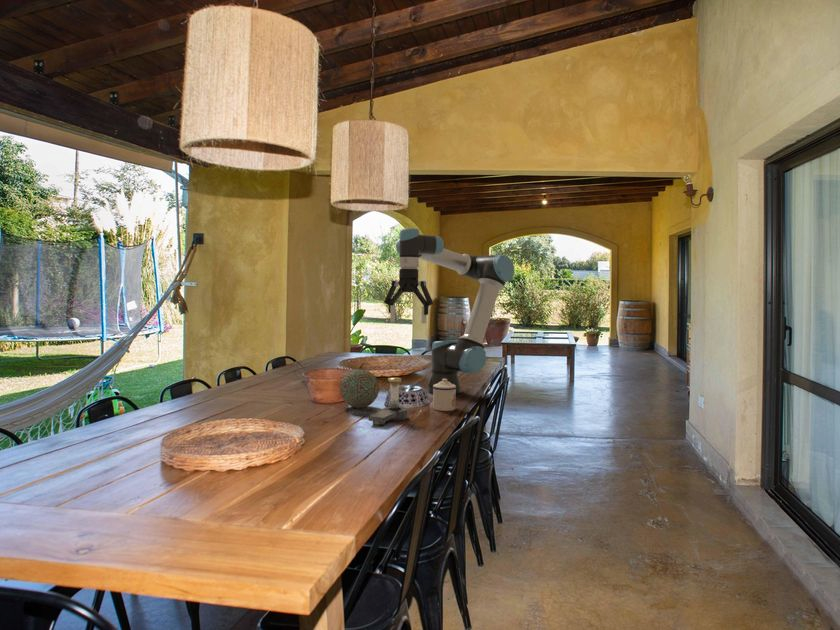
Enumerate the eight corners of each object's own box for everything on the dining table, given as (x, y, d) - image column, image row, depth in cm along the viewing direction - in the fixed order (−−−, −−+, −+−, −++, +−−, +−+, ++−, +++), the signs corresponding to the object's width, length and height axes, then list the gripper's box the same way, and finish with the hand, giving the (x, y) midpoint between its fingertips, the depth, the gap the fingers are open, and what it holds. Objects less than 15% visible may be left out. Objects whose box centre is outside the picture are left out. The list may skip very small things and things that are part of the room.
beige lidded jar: (457, 411, 225) (458, 381, 224) (433, 411, 224) (434, 380, 224) (453, 405, 237) (453, 376, 236) (430, 405, 236) (431, 375, 236)
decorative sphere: (333, 410, 224) (333, 370, 223) (348, 402, 238) (349, 365, 238) (370, 413, 220) (371, 372, 219) (384, 405, 234) (384, 367, 234)
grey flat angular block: (362, 410, 223) (362, 402, 223) (410, 416, 215) (410, 408, 215) (335, 420, 207) (335, 411, 207) (386, 427, 198) (387, 418, 198)
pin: (391, 415, 216) (391, 377, 215) (403, 417, 214) (403, 378, 213) (385, 418, 212) (385, 378, 211) (397, 420, 210) (397, 380, 209)
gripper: (376, 268, 234) (375, 321, 235) (434, 268, 224) (433, 324, 225) (385, 268, 241) (384, 320, 242) (442, 268, 230) (441, 323, 232)
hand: (408, 322), depth 233 cm, fingers open, 13 cm apart
